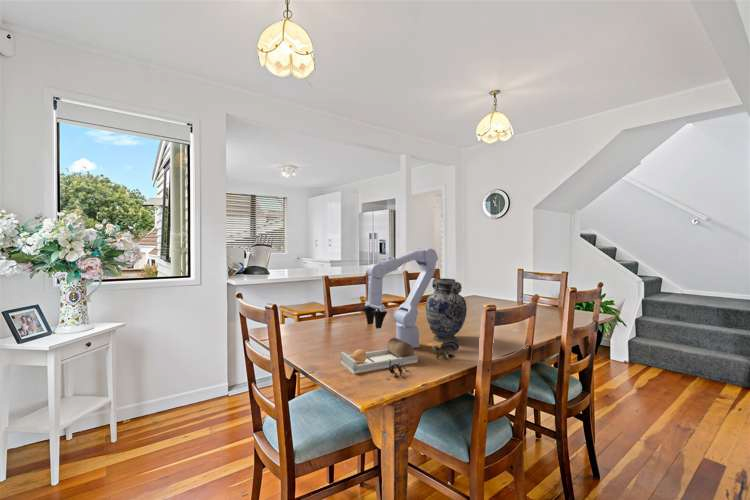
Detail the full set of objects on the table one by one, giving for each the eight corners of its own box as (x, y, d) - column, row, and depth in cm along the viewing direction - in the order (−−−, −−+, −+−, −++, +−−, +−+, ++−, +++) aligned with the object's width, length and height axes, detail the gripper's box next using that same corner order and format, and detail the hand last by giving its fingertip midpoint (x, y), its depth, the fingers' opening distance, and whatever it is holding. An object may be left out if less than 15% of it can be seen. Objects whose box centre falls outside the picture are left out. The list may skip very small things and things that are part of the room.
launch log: (400, 351, 142) (400, 337, 142) (413, 359, 133) (413, 343, 133) (387, 354, 139) (387, 338, 139) (399, 361, 131) (399, 345, 131)
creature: (407, 374, 124) (385, 369, 124) (411, 359, 124) (389, 354, 124) (411, 383, 116) (388, 378, 116) (415, 367, 116) (391, 362, 116)
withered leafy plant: (447, 360, 132) (463, 352, 137) (437, 342, 134) (453, 335, 139) (436, 366, 137) (452, 357, 142) (427, 349, 140) (443, 341, 145)
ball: (362, 360, 132) (363, 347, 132) (368, 365, 127) (369, 351, 128) (350, 361, 130) (351, 348, 130) (355, 366, 125) (356, 351, 125)
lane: (400, 353, 144) (401, 343, 143) (417, 362, 133) (417, 351, 133) (341, 363, 132) (341, 352, 132) (353, 373, 121) (353, 362, 121)
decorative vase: (415, 335, 170) (417, 277, 169) (447, 332, 178) (449, 276, 177) (442, 348, 150) (443, 282, 150) (476, 343, 158) (478, 281, 157)
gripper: (359, 291, 150) (358, 323, 150) (374, 296, 137) (373, 330, 137) (373, 290, 153) (373, 321, 153) (390, 295, 140) (389, 329, 141)
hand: (374, 326), depth 146 cm, fingers open, 7 cm apart
